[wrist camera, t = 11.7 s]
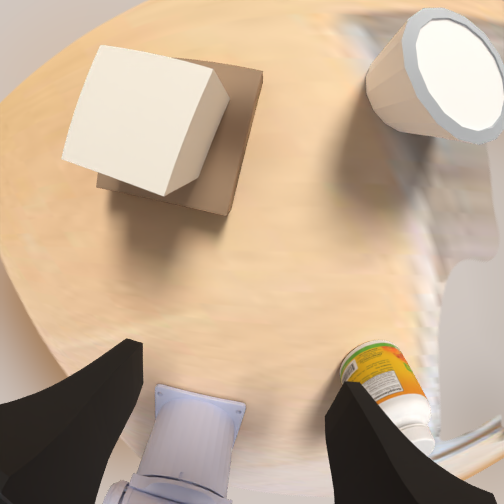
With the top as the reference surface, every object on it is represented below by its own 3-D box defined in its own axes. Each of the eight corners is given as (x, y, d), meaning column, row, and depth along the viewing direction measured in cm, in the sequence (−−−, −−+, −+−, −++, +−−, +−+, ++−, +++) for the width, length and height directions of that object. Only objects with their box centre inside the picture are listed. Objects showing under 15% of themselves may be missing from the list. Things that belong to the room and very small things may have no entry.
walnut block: (232, 206, 19) (226, 216, 16) (118, 181, 18) (96, 187, 15) (263, 83, 16) (262, 71, 13) (143, 67, 16) (124, 55, 13)
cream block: (198, 177, 15) (163, 196, 9) (124, 152, 15) (61, 159, 9) (230, 98, 14) (213, 68, 8) (152, 75, 13) (100, 44, 8)
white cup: (368, 147, 16) (422, 148, 10) (344, 45, 14) (382, -3, 8) (453, 140, 16) (522, 144, 9) (432, 48, 14) (491, 19, 7)
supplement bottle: (404, 370, 22) (445, 455, 13) (348, 395, 23) (371, 487, 14) (393, 326, 20) (447, 418, 11) (330, 355, 21) (355, 459, 12)
